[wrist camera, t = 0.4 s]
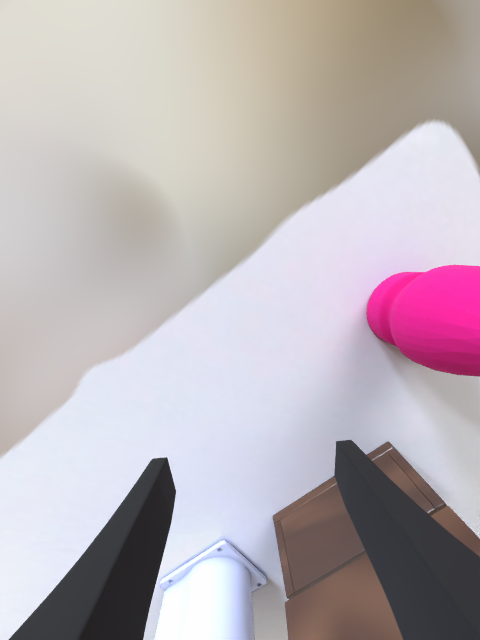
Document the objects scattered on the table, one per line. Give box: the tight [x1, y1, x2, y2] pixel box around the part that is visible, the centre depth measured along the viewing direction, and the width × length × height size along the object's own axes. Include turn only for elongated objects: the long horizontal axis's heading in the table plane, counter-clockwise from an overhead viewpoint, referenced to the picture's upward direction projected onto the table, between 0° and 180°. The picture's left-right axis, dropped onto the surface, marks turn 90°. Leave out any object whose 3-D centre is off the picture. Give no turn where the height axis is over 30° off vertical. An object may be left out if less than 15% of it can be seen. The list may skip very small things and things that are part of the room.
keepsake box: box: [273, 442, 447, 600], centre depth 21 cm, size 12×15×6 cm
